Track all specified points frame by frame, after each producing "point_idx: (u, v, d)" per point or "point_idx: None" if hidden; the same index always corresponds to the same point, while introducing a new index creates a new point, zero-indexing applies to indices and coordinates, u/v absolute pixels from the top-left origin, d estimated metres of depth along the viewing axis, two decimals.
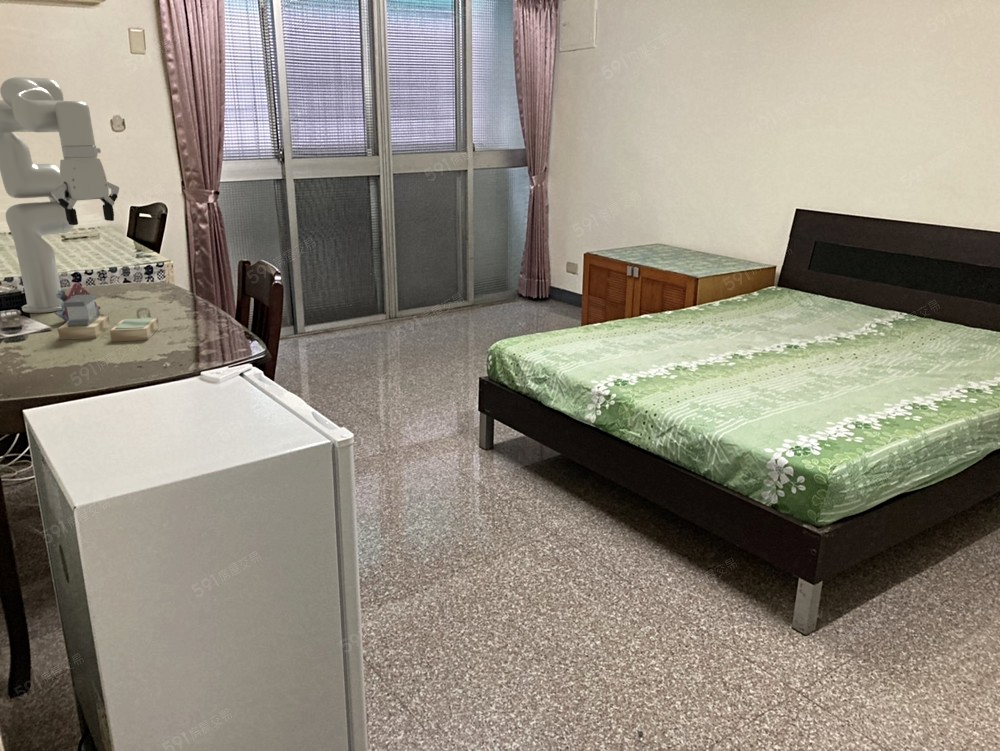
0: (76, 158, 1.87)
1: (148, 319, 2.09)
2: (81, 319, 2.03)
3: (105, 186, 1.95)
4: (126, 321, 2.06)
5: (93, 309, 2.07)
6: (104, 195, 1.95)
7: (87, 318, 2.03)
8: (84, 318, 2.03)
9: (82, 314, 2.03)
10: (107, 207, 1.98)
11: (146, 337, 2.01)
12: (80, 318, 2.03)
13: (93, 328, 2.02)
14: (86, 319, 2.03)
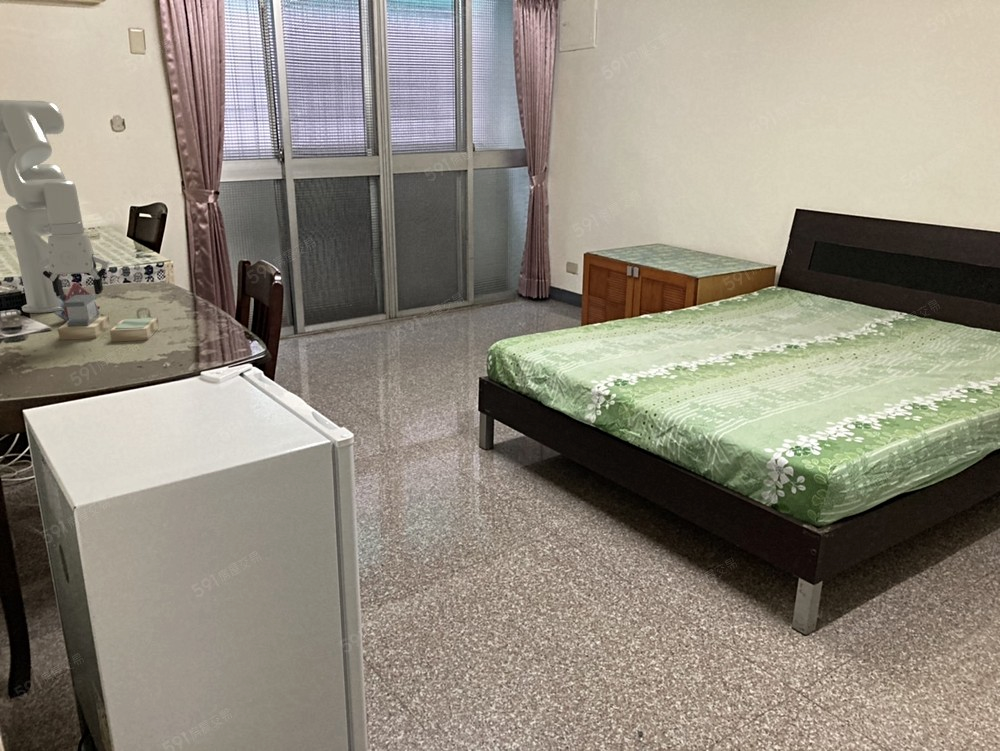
0: None
1: (148, 319, 2.09)
2: (81, 319, 2.03)
3: None
4: (126, 321, 2.06)
5: (93, 309, 2.07)
6: None
7: (87, 318, 2.03)
8: (84, 318, 2.03)
9: (82, 314, 2.03)
10: (60, 281, 2.02)
11: (146, 337, 2.01)
12: (80, 318, 2.03)
13: (93, 328, 2.02)
14: (86, 319, 2.03)
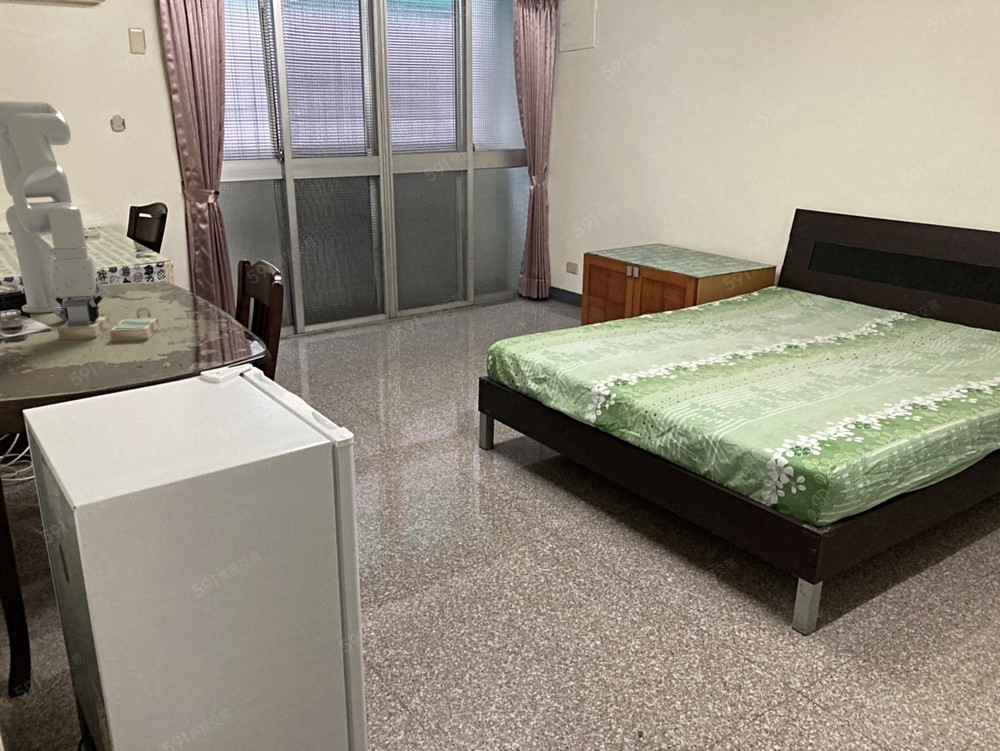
0: None
1: (148, 319, 2.09)
2: (81, 319, 2.03)
3: None
4: (126, 321, 2.06)
5: None
6: None
7: (87, 318, 2.03)
8: (84, 318, 2.03)
9: (82, 314, 2.03)
10: None
11: (146, 337, 2.01)
12: (80, 318, 2.03)
13: (93, 328, 2.02)
14: (86, 319, 2.03)
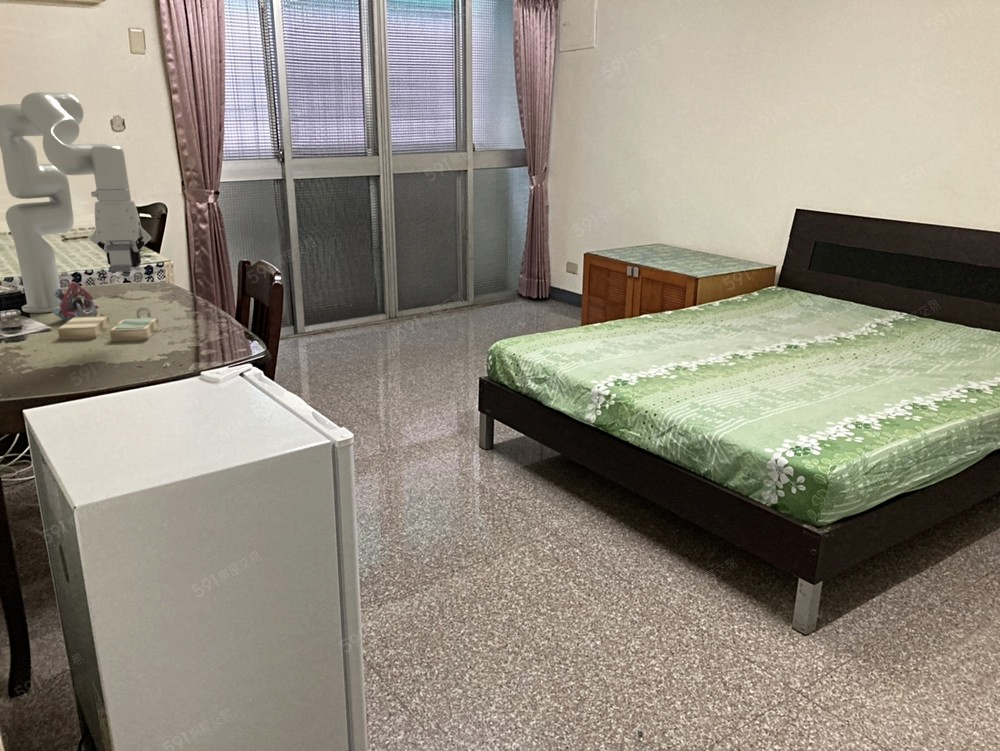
0: None
1: (148, 319, 2.09)
2: (123, 264, 1.97)
3: None
4: (126, 321, 2.06)
5: None
6: None
7: (129, 263, 1.97)
8: (126, 263, 1.97)
9: (124, 259, 1.97)
10: None
11: (146, 337, 2.01)
12: (122, 263, 1.97)
13: (93, 328, 2.02)
14: (128, 264, 1.97)
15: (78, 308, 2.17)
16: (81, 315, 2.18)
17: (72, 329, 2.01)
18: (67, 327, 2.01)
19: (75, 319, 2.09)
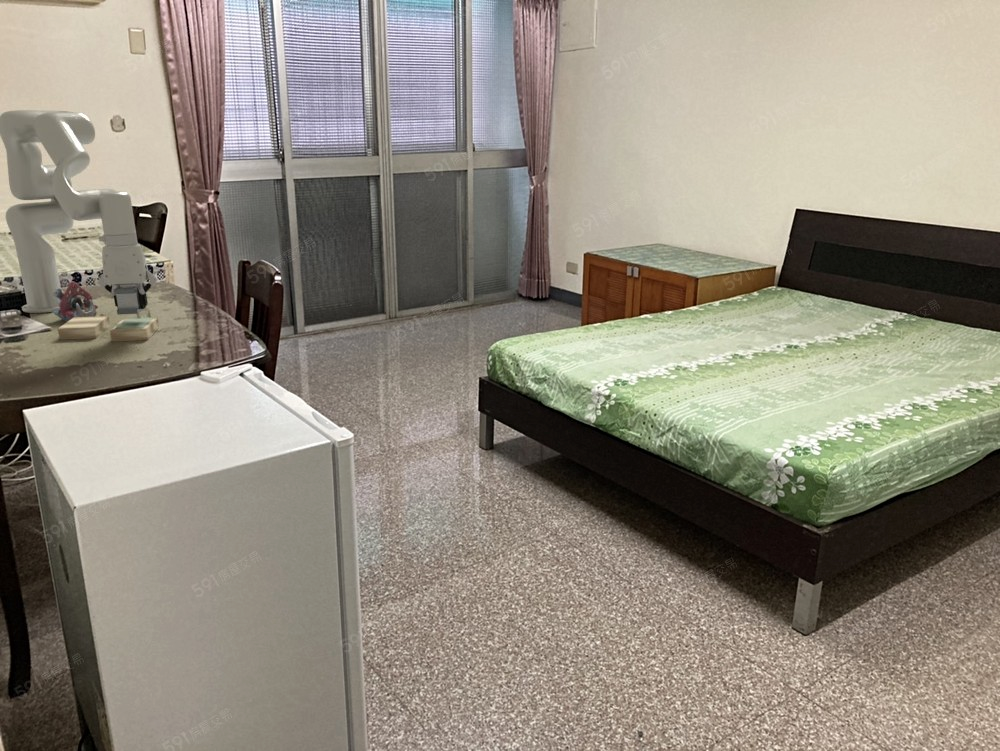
0: None
1: (148, 319, 2.09)
2: (130, 307, 2.00)
3: None
4: (126, 321, 2.06)
5: None
6: None
7: (136, 306, 2.01)
8: (133, 306, 2.00)
9: (131, 302, 2.00)
10: None
11: (146, 337, 2.01)
12: (129, 306, 2.00)
13: (93, 328, 2.02)
14: (135, 307, 2.01)
15: (77, 308, 2.17)
16: (80, 315, 2.18)
17: (72, 329, 2.01)
18: (67, 327, 2.01)
19: (75, 319, 2.09)
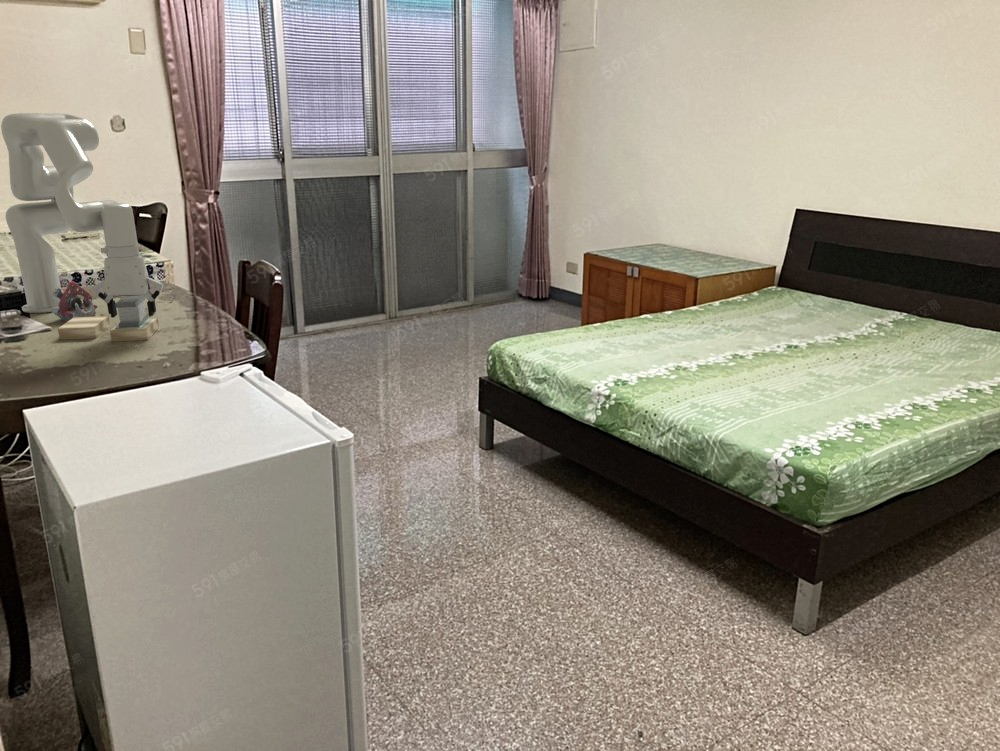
0: None
1: (148, 319, 2.09)
2: (132, 320, 2.02)
3: None
4: None
5: (143, 310, 2.06)
6: None
7: (138, 319, 2.02)
8: (135, 319, 2.02)
9: (133, 315, 2.01)
10: (114, 303, 2.03)
11: (146, 337, 2.01)
12: (131, 319, 2.02)
13: (93, 328, 2.02)
14: (137, 320, 2.02)
15: (76, 307, 2.17)
16: (79, 314, 2.18)
17: (72, 329, 2.01)
18: (67, 327, 2.01)
19: (75, 319, 2.09)
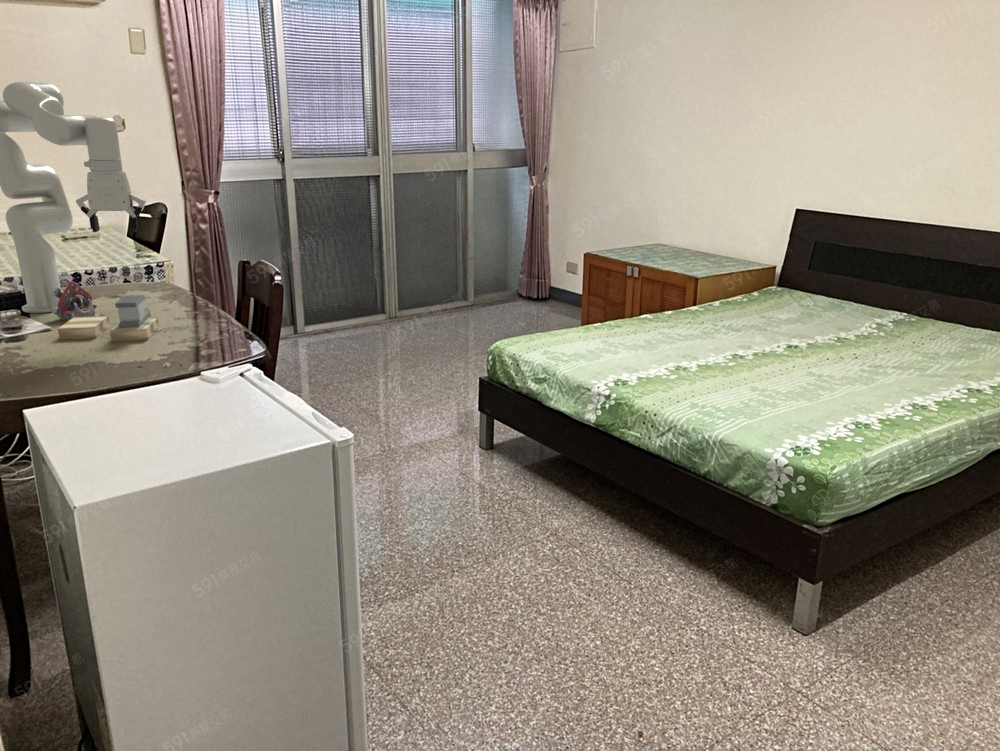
0: None
1: (148, 319, 2.09)
2: (132, 320, 2.02)
3: None
4: None
5: (143, 310, 2.06)
6: None
7: (138, 319, 2.02)
8: (135, 319, 2.02)
9: (133, 315, 2.01)
10: (96, 218, 2.05)
11: (146, 337, 2.01)
12: (131, 319, 2.02)
13: (93, 328, 2.02)
14: (137, 320, 2.02)
15: (75, 307, 2.18)
16: (78, 314, 2.18)
17: (72, 329, 2.01)
18: (67, 327, 2.01)
19: (75, 319, 2.09)
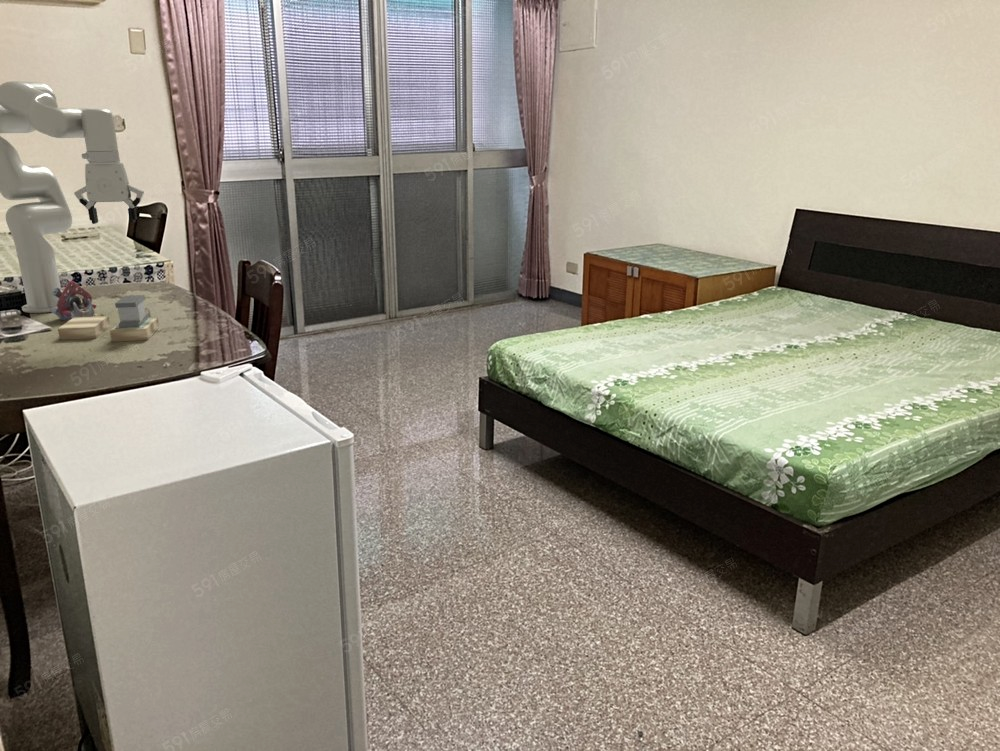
0: None
1: (148, 319, 2.09)
2: (132, 320, 2.02)
3: None
4: None
5: (143, 310, 2.06)
6: None
7: (138, 319, 2.02)
8: (135, 319, 2.02)
9: (133, 315, 2.01)
10: (95, 210, 2.07)
11: (146, 337, 2.01)
12: (131, 319, 2.02)
13: (93, 328, 2.02)
14: (137, 320, 2.02)
15: (74, 307, 2.18)
16: (77, 314, 2.19)
17: (72, 329, 2.01)
18: (67, 327, 2.01)
19: (75, 319, 2.09)
